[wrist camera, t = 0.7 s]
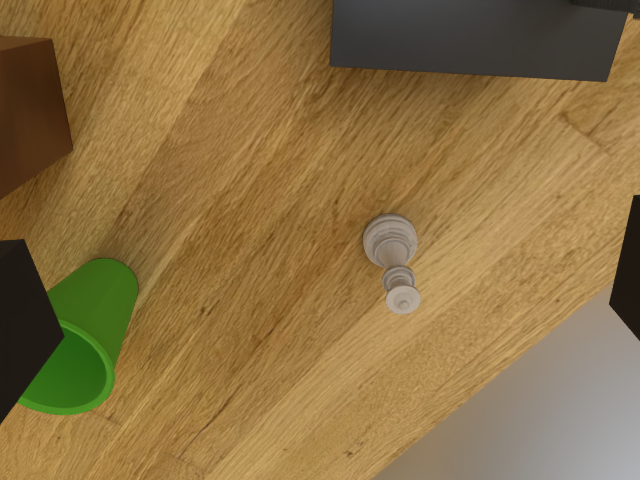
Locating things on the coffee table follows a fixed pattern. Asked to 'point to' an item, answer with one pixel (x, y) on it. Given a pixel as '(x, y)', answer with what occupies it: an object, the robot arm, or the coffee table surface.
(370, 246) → the chess piece
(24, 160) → the dark brown rectangular block
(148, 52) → the coffee table surface
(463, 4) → the handled dark lid
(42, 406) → the cup
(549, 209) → the coffee table surface
